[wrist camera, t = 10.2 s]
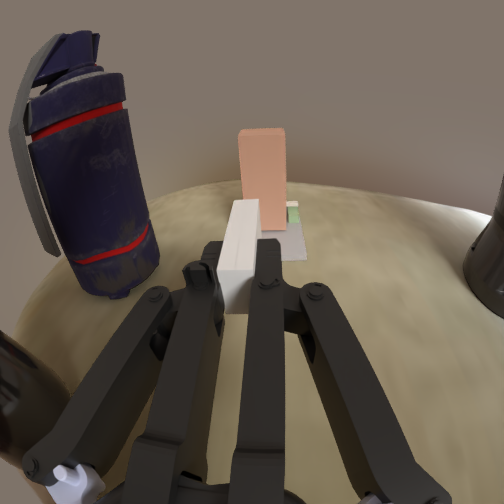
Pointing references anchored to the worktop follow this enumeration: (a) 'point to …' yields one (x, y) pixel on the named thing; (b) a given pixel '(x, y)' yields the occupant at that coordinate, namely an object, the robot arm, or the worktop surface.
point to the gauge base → (290, 237)
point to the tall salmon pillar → (265, 174)
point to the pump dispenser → (26, 400)
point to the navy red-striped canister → (83, 167)
